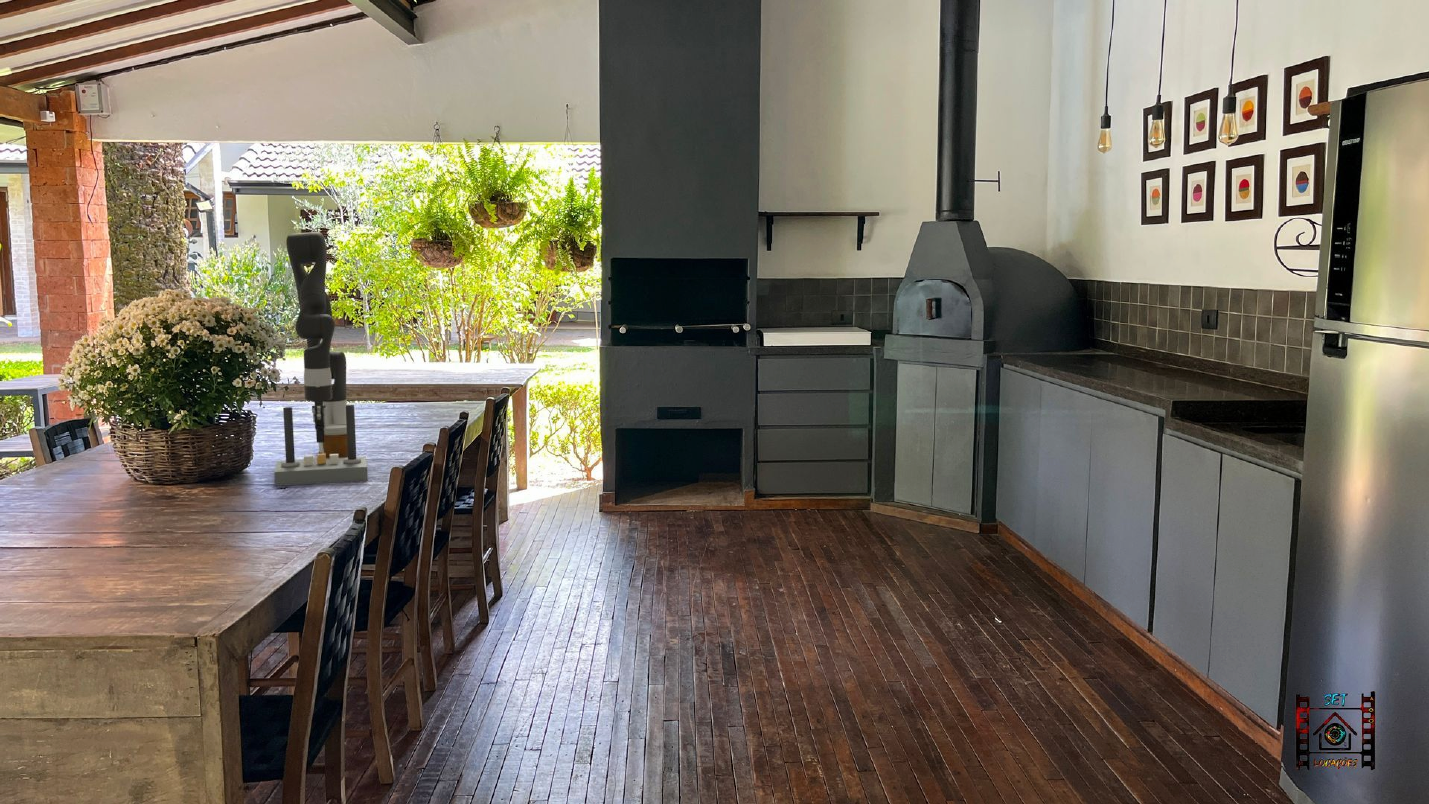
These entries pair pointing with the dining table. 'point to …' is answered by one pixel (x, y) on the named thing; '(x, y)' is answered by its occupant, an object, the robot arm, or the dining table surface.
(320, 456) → the orange small block
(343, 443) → the disposable coffee cup
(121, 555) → the dining table surface
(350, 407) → the cable post
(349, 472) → the panel
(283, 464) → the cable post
